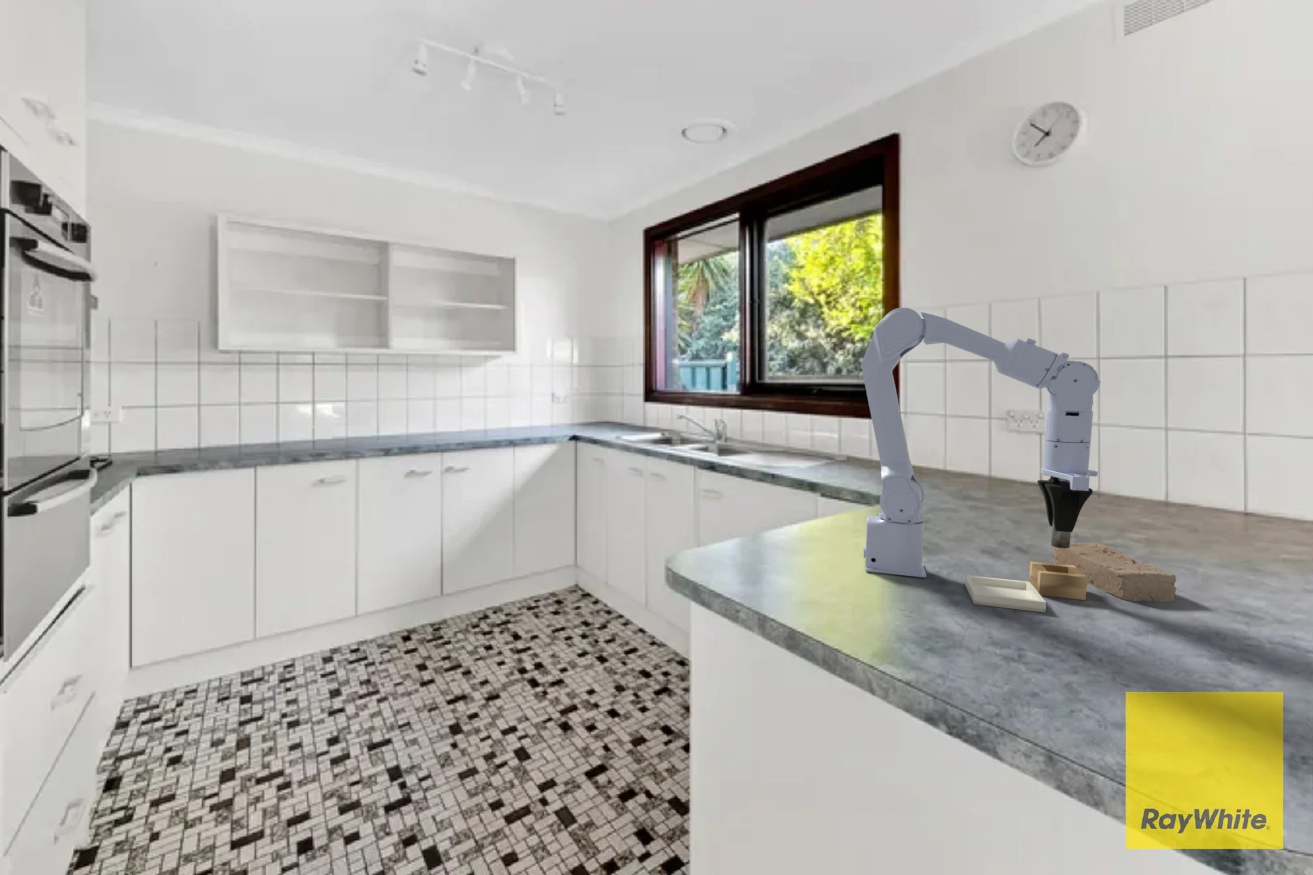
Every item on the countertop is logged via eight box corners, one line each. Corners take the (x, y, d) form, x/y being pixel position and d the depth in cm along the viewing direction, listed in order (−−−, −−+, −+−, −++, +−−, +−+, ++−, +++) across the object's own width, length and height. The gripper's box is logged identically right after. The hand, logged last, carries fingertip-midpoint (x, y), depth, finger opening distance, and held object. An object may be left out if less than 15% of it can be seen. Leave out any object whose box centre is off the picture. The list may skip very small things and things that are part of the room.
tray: (973, 604, 86) (974, 594, 86) (964, 583, 94) (964, 574, 94) (1045, 612, 83) (1046, 602, 83) (1028, 590, 91) (1029, 581, 91)
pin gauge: (1053, 547, 90) (1056, 505, 89) (1049, 543, 92) (1052, 502, 91) (1071, 549, 89) (1075, 507, 88) (1067, 545, 91) (1070, 503, 90)
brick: (1179, 603, 87) (1182, 572, 87) (1122, 602, 87) (1124, 571, 87) (1098, 568, 104) (1100, 542, 103) (1050, 567, 104) (1051, 541, 103)
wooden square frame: (1038, 595, 89) (1040, 572, 89) (1028, 582, 95) (1030, 561, 95) (1085, 600, 87) (1087, 577, 87) (1072, 586, 93) (1073, 565, 93)
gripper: (1118, 447, 81) (1110, 543, 82) (1082, 437, 94) (1075, 520, 96) (1058, 445, 83) (1051, 538, 84) (1031, 435, 97) (1025, 516, 98)
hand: (1060, 528), depth 90 cm, fingers closed on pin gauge, 2 cm apart
